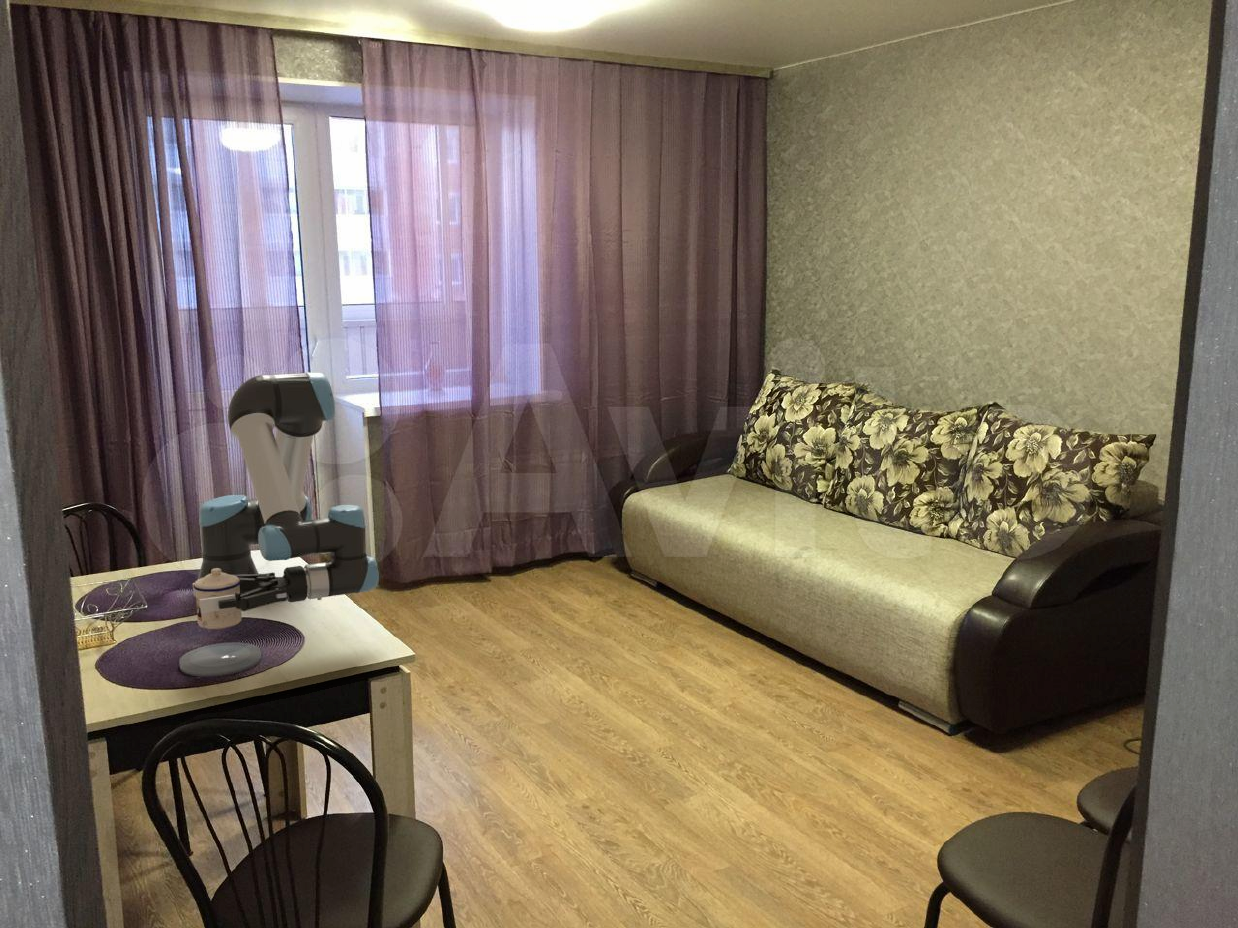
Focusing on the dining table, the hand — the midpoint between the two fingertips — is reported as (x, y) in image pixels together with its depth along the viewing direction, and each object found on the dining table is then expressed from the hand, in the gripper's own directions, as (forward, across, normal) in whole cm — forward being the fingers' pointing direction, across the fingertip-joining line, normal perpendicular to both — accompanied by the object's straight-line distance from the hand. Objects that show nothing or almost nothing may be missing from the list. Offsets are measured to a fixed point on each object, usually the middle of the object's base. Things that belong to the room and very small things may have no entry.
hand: (196, 597), depth 211 cm
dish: (-4, 0, -15) cm, 15 cm away
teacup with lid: (-4, 0, -7) cm, 8 cm away
